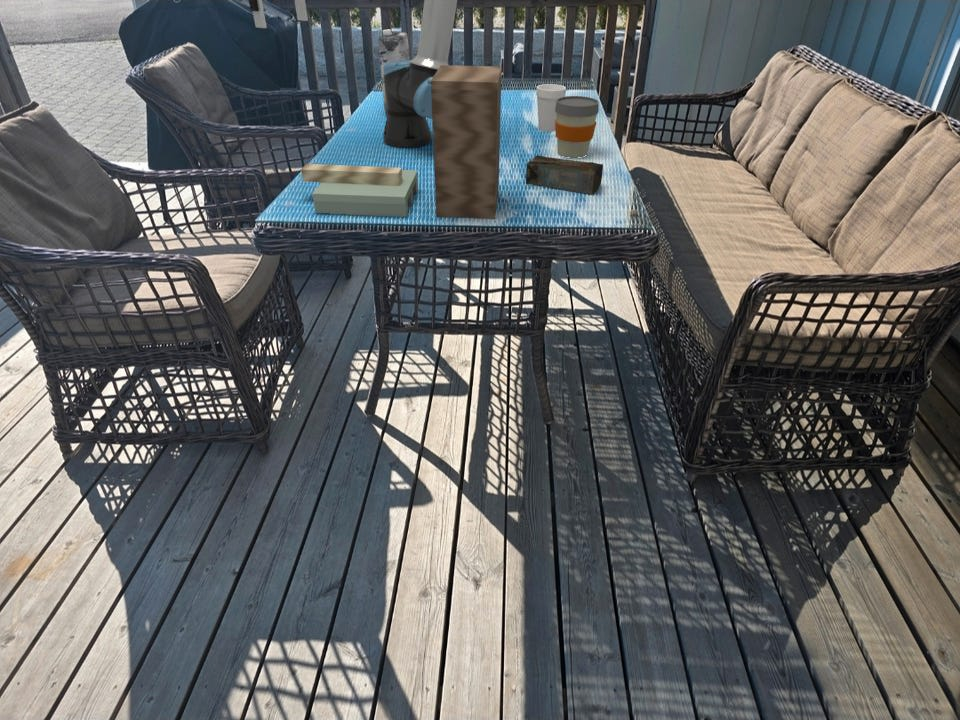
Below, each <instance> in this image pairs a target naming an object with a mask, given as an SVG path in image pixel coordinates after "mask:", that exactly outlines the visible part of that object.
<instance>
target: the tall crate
mask: <svg viewBox="0 0 960 720" xmlns="http://www.w3.org/2000/svg"><path fill="white" fill-rule="evenodd" d="M502 71H503V69H502V66H491V65H488V66H487V65H441V66H440V67H439V69H438V71H437V72H436V74H435V75H434V77H433V78H432V80H431V98H432V119H431V120H432V145H433V169H434V190H435V191H434V193H435V217H437V218H457V219H458V218H461V219H463V218H464V219H484V220H485V219H487V220H495V219H496V213H497V207H498V206H497V205H498V200H499V192H500V190H499V189H500V187H499V186H500V184H499V183H500V181H499V180H500V154H501V153H500V151H501V150H500V149H501V147H500V145H501V116H502V115H501V110H502V109H501V108H502V107H501V106H502V105H501V103H502V77H503V76H502V75H503V73H502Z"/></svg>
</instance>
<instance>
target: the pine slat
mask: <svg viewBox="0 0 960 720" xmlns="http://www.w3.org/2000/svg"><path fill="white" fill-rule="evenodd" d="M300 170H301V171H300V172H301V177H302V178H301V179H302V182H307V183H321V182H326V183H349V184H372V185H395V186H399V185H400V183H401V182H402V180H403V179H402V170H403V167H391V166H390V167H389V166H388V167H386V166H368V165H367V166H365V165H341V164H316V163H306V164H305V165H304V166H303V167H301V169H300Z"/></svg>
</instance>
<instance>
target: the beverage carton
mask: <svg viewBox="0 0 960 720" xmlns="http://www.w3.org/2000/svg"><path fill="white" fill-rule="evenodd" d="M525 170H526V173H525V184H526V185H529V184H532V185H531V186H535V185H537V186H536V187H541V186H542V187H541V188H546V187H548V188H549V189H553V190H560V191H566V190H567V192H568V191H569V192H575V193H579V194H580V193H581V194H586V195H594V194H595V192H596V191H597V190H599V188H600V187H601V186H602V178H603V173H604V172H603V171H604V163H597V162H593V161H589V162H588V161H581V160H574V159H573V160H572V159H567V158H557V157H550V156H544V155H534V157H533V158H531V159H530V160H529V161H527V162H526V169H525ZM548 188H547V189H548Z"/></svg>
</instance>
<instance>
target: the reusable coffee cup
mask: <svg viewBox="0 0 960 720" xmlns="http://www.w3.org/2000/svg"><path fill="white" fill-rule="evenodd" d="M599 103H600V102H599V100H598V99H596V98H593V97H590V96H584V95H583V96H582V95H569V96H568V95H567V96H566V95H565V97H561V98H558V99H557V102H556V107H555V112H556V120H555V131H554V132H555V137H556V142H557V143H556V144H557V145H556V146H557V155H558V154H559V155H558V156H560V155H561V156H560V157H562V156H564V157H563V158H565V157H570V158H569V159H573V158H577V159H579V158H578V157H583V156H585V155H587V156H588V154H589V149H590V145H591V141H592V139H594V134H595V130H596V126H597V121H596V120H597V116H598V114H599V111H600V107H599V106H600V105H599ZM583 158H584V157H583Z"/></svg>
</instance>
